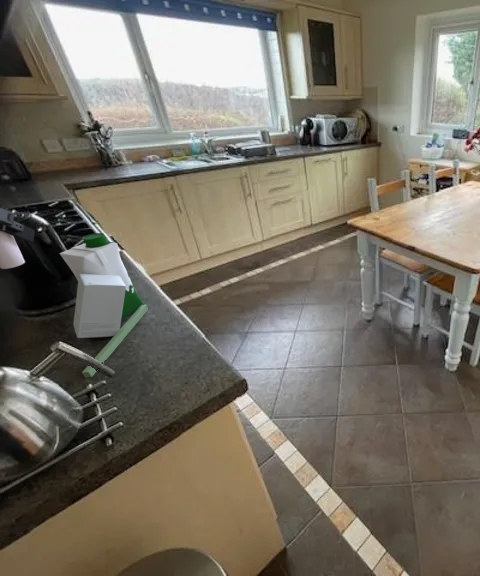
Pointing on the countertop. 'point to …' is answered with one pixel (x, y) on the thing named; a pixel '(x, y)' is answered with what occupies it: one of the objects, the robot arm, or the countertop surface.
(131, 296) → the soya milk
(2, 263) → the smoothie
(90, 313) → the white packaging box
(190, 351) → the countertop surface
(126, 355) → the countertop surface
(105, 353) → the straightedge
